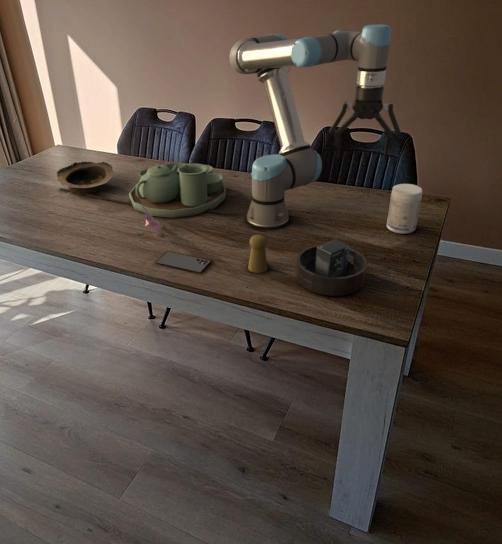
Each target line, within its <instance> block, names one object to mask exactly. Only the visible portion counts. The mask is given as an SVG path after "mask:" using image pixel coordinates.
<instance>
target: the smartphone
mask: <svg viewBox="0 0 502 544" xmlns="http://www.w3.org/2000/svg"><path fill="white" fill-rule="evenodd" d="M210 263H211V260H209V259H205V258H201V257H196V256H195V257H194V256H190V255H187V254H186V255H185V254H181V253H177V252H170V251H167V252H166V253H165V254H164V255H162V257H160V258H159V259H157V261H156V264H160V265H164V266H168V267H173V268H177V269H181V270H185V271H190V272H194V273H202V272H203V271H204V270H205V269H206V267H207V266H208V265H209V264H210Z"/></svg>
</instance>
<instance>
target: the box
mask: <svg viewBox="0 0 502 544" xmlns="http://www.w3.org/2000/svg"><path fill="white" fill-rule="evenodd" d="M320 245H321V246H318V247H317V253H316V263H315V272H314V274H318V275H321V276H327V277H345V276H346V271H347V263H348V255H349V248H351V247H350V245H349V244H347V243H344V242H343V241H341V240H339V239H336V238H334V239H332V240H331V241H328V242H326V243H323V244H320Z"/></svg>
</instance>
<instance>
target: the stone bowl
mask: <svg viewBox="0 0 502 544" xmlns="http://www.w3.org/2000/svg"><path fill="white" fill-rule="evenodd" d="M114 174H115V172H114V169H113V166H112V165H111V164H110V163H108V162H105V161H101V162H93V161H80V162H73V163H72V164H70V165H67V166H64V167H62V168H60V169H59V170H57V172H56V177H57V178H56V180H57V181H58V182H59V183H60V184H61V185H62V186H64V187H67V189H68V190H70V191H71V192H70V193H72V194H76V195H79V196H85V195H84V194H86V193H88V194H92V195H94V194H95V193H96V192H98V191H100V190H102V189H103V188H104V187H105V186H106V184H107V183H108V182H109V181H110V180H111V179H113V177H114ZM73 192H74V193H73Z"/></svg>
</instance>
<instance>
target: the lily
mask: <svg viewBox="0 0 502 544" xmlns="http://www.w3.org/2000/svg"><path fill="white" fill-rule="evenodd" d="M142 207H143V206H142ZM143 209H144V211H145V213H142V214H141V216H142V218H144V219H145V225H144V227H142V230H141V232H140V234H142V233H143V231H144V229H145V228H146V227H151V228H152V230H153V231H156V232H157V233H158V234H159V235H160V236H162V234H161V231H160V230H159V229H163V226H162V225H161V224H160V222H159V221H158V220H157V219H155V218H154V216H152V215H151V214H149V213H148V211H147V210H146V209H145V208H144V207H143Z"/></svg>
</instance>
